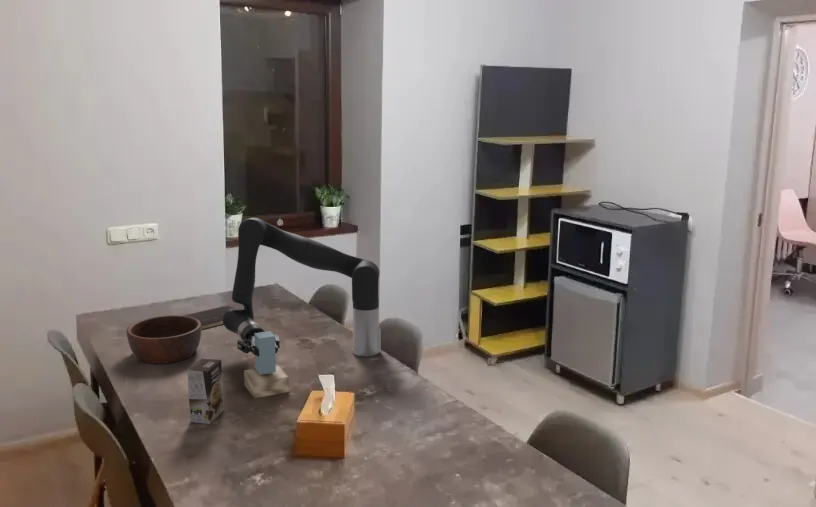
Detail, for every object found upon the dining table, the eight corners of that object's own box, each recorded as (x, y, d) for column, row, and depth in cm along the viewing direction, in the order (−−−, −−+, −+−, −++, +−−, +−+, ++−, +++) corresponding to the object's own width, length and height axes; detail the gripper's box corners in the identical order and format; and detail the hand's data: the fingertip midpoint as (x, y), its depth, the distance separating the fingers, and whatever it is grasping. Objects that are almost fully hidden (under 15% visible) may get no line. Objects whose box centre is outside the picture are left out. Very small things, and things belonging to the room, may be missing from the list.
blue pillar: (270, 366, 225) (269, 330, 223) (275, 372, 221) (274, 336, 218) (255, 369, 223) (254, 333, 220) (260, 374, 219) (259, 338, 216)
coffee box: (210, 424, 199) (207, 371, 196) (189, 422, 201) (186, 369, 197) (224, 410, 208) (222, 359, 204) (204, 408, 209) (201, 357, 206)
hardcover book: (247, 319, 289) (247, 314, 288) (195, 332, 273) (195, 326, 273) (227, 310, 300) (227, 304, 300) (176, 321, 285) (176, 316, 284)
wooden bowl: (201, 338, 266) (199, 312, 264) (204, 362, 243) (203, 334, 240) (130, 344, 258) (128, 318, 256) (126, 371, 235) (124, 342, 233)
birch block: (277, 378, 231) (277, 364, 230) (288, 391, 221) (288, 376, 220) (244, 384, 226) (244, 370, 225) (254, 398, 216) (253, 383, 215)
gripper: (229, 326, 229) (243, 344, 214) (272, 320, 236) (289, 337, 221) (230, 348, 231) (244, 367, 216) (273, 341, 237) (289, 359, 223)
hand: (267, 351), depth 219 cm, fingers closed on blue pillar, 5 cm apart
